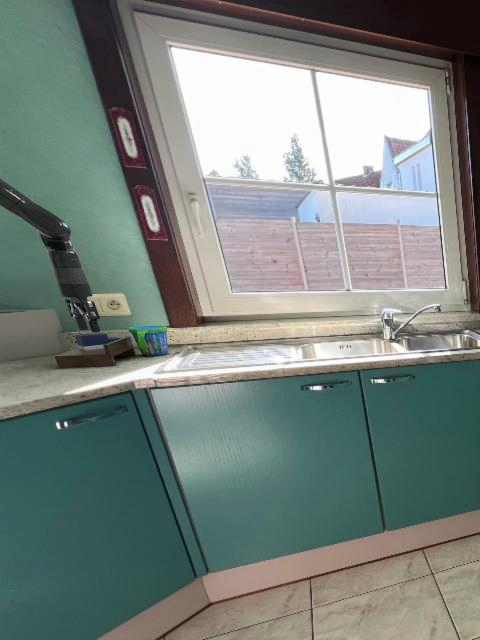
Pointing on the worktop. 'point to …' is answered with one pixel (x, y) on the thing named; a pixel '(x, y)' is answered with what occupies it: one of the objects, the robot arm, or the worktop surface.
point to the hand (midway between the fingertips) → (90, 331)
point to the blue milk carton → (93, 341)
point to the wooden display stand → (96, 355)
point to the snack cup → (151, 339)
